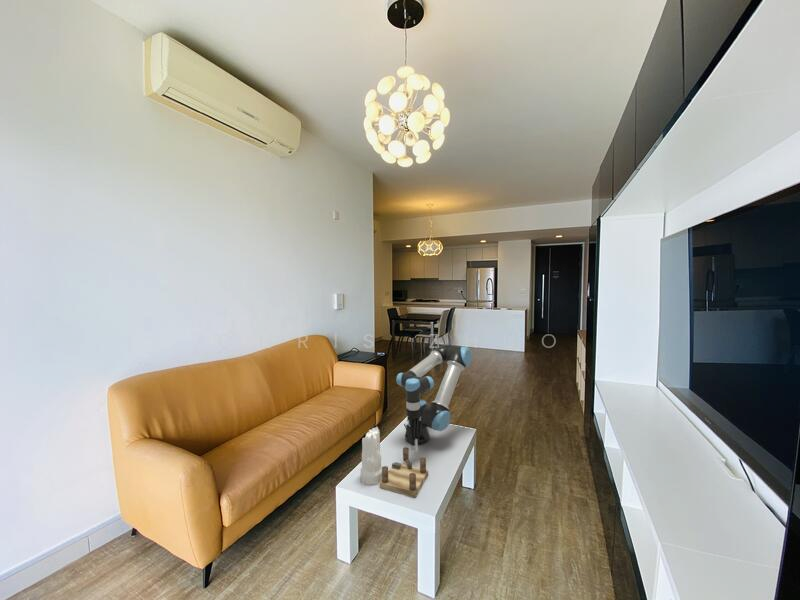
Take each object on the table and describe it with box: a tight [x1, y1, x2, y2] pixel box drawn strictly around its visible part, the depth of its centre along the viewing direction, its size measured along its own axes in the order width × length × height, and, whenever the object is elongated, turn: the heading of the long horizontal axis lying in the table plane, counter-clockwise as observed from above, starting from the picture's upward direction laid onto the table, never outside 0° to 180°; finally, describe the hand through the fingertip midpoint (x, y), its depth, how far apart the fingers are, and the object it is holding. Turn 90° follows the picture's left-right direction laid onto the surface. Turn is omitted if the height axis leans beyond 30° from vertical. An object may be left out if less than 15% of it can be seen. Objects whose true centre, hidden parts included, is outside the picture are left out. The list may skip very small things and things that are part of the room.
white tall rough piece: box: [360, 426, 383, 486], centre depth 155 cm, size 11×11×25 cm
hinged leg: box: [402, 446, 413, 469], centre depth 163 cm, size 10×3×6 cm, turn 16°
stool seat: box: [379, 456, 429, 498], centre depth 153 cm, size 18×18×9 cm
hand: (414, 450), depth 170 cm, fingers closed
